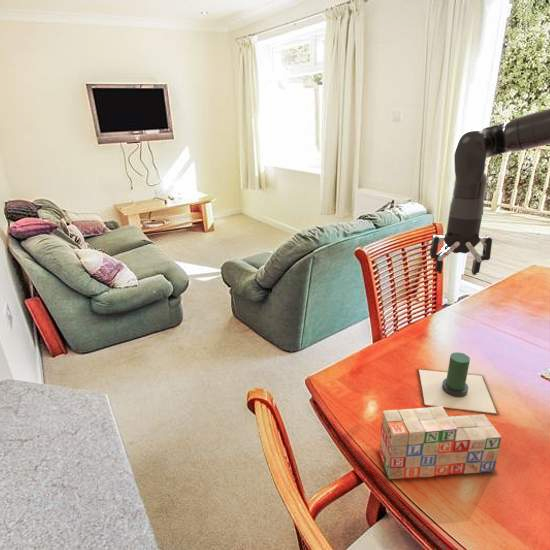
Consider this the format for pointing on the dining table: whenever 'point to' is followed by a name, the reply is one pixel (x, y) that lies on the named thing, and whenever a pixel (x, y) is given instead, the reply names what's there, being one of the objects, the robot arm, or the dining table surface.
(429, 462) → the stack of blocks
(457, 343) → the dining table surface
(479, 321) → the dining table surface
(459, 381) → the green cylinder with base
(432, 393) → the napkin
